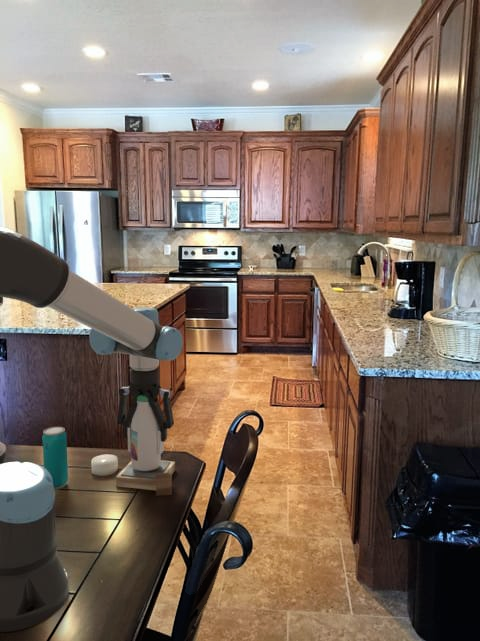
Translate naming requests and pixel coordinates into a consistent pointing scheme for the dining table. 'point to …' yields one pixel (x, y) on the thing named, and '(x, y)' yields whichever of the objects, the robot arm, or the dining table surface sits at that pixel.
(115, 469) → the white rounded block
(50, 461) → the beverage can
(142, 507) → the dining table surface
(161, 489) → the tan wooden block
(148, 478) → the wooden picture frame
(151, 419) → the milk bottle
